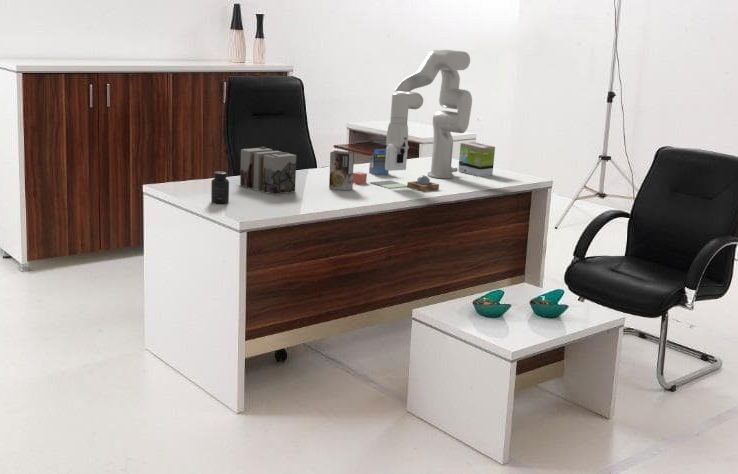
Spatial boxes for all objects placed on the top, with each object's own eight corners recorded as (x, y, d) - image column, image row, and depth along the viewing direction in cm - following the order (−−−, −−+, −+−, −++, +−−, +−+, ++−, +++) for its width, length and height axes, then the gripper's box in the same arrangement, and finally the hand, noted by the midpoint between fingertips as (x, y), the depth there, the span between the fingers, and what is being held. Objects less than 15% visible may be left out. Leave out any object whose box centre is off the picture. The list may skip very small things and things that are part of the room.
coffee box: (353, 188, 398) (355, 152, 394) (347, 191, 392) (349, 154, 388) (333, 186, 401) (335, 149, 397) (328, 188, 395) (330, 151, 391)
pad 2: (399, 184, 414) (400, 183, 414) (409, 186, 410) (409, 185, 410) (379, 186, 407) (379, 185, 407) (389, 188, 402) (389, 187, 402)
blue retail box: (384, 172, 442) (385, 147, 439) (388, 173, 439) (390, 148, 435) (368, 173, 437) (370, 147, 434) (372, 174, 434) (374, 149, 431)
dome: (423, 185, 411) (424, 174, 410) (431, 187, 407) (432, 176, 405) (414, 186, 407) (415, 174, 406) (422, 188, 403) (423, 177, 402)
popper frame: (423, 185, 414) (423, 180, 414) (438, 189, 407) (439, 184, 406) (407, 187, 408) (407, 182, 407) (422, 191, 400) (422, 186, 400)
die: (358, 181, 415) (358, 171, 414) (366, 183, 412) (366, 173, 411) (352, 182, 411) (352, 172, 410) (360, 184, 409) (360, 174, 408)
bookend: (263, 181, 402) (264, 145, 398) (299, 192, 385) (301, 154, 381) (234, 185, 391) (235, 147, 387) (270, 195, 374) (271, 157, 370)
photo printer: (401, 168, 411) (403, 141, 408) (407, 170, 407) (409, 143, 404) (383, 169, 405) (385, 142, 402) (388, 171, 402) (390, 143, 399)
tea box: (457, 171, 455) (459, 142, 452) (471, 170, 462) (473, 141, 458) (479, 177, 444) (482, 147, 441) (493, 175, 451) (495, 146, 447)
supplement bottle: (211, 200, 359) (212, 170, 356) (229, 201, 359) (229, 171, 356) (210, 204, 352) (210, 173, 349) (228, 204, 353) (228, 174, 350)
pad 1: (389, 181, 420) (390, 180, 420) (399, 183, 415) (399, 182, 415) (369, 183, 412) (370, 182, 412) (379, 185, 407) (379, 185, 407)
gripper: (380, 118, 405) (377, 159, 409) (405, 123, 392) (402, 165, 397) (392, 118, 410) (390, 158, 414) (418, 123, 397) (415, 164, 402)
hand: (396, 161), depth 405 cm, fingers closed on photo printer, 4 cm apart
